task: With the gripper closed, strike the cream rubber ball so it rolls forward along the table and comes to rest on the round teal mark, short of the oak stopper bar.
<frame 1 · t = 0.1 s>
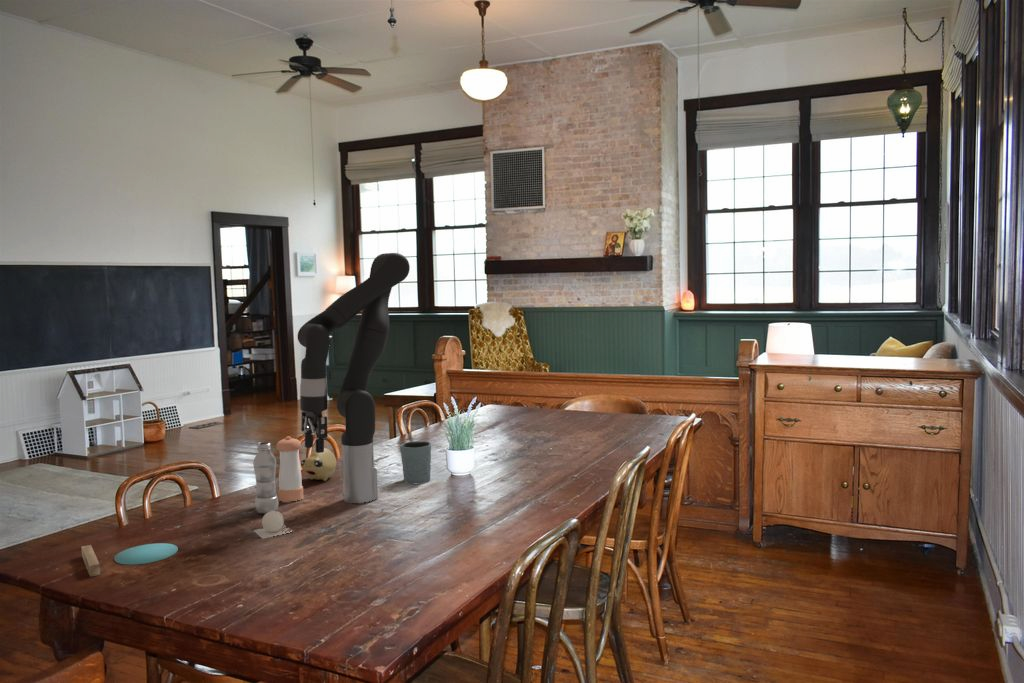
hand: (314, 449, 219), 17 cm above the table, tool pointing down, fingers open, 8 cm apart
pepper shaker: (291, 499, 231), on the table
dark grey pot: (416, 480, 250), on the table
yellow plush toy: (319, 480, 253), on the table
stopper bar: (90, 565, 179), on the table
ball: (272, 521, 201), on the table
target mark: (146, 553, 186), on the table
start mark: (273, 531, 201), on the table
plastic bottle: (267, 513, 218), on the table
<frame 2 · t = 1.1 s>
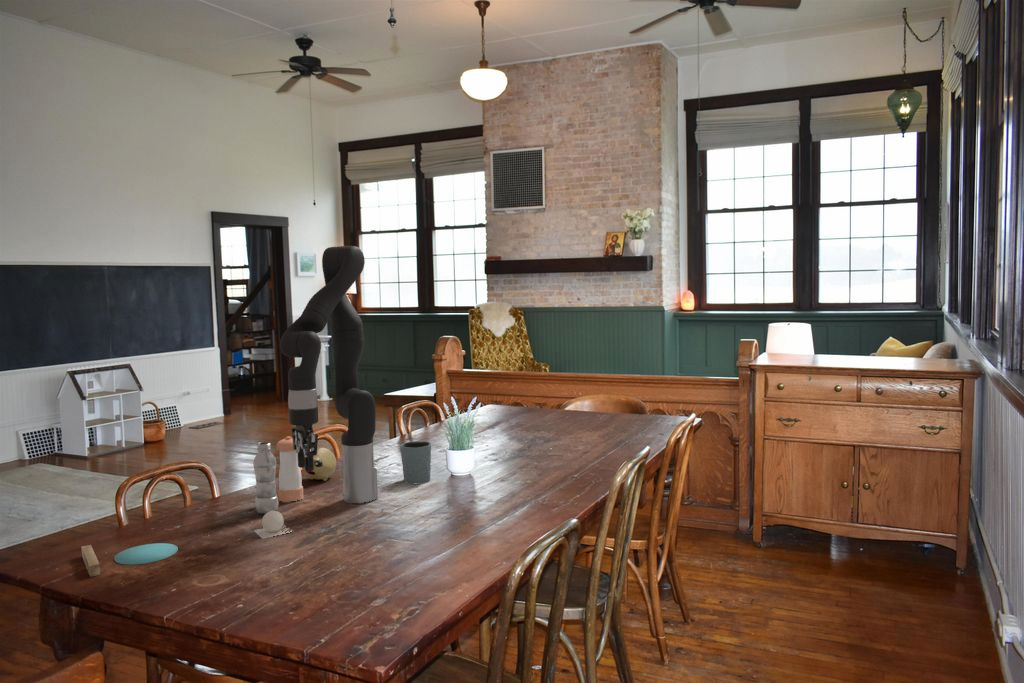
hand: (305, 468, 205), 15 cm above the table, tool pointing down, fingers open, 4 cm apart
nothing on the table moved.
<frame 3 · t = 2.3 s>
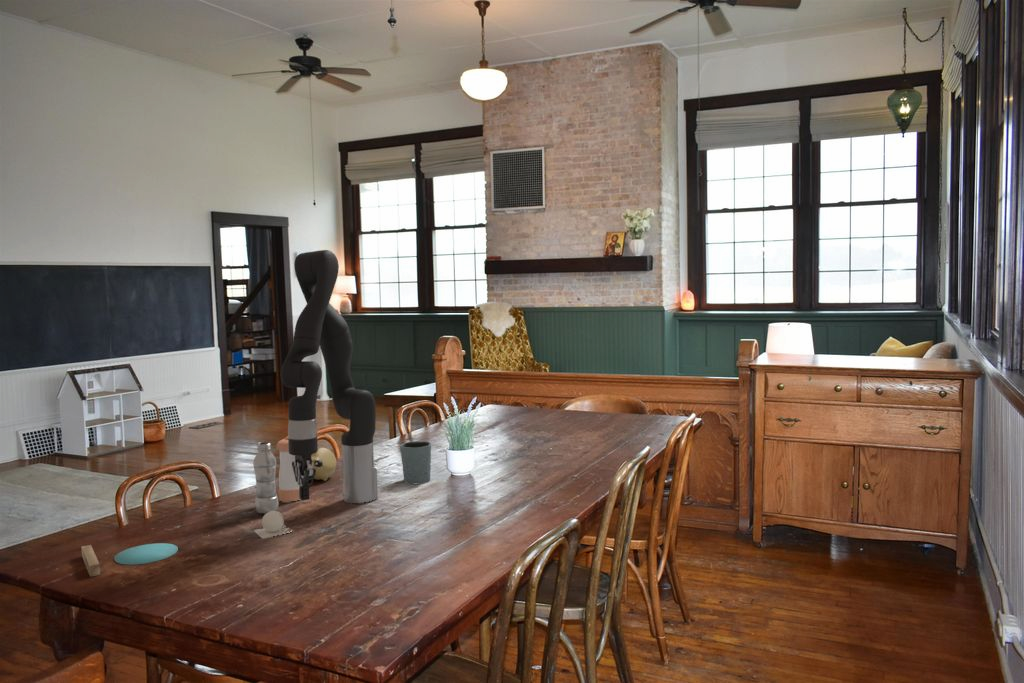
hand: (304, 499, 206), 7 cm above the table, tool pointing down, fingers closed
nothing on the table moved.
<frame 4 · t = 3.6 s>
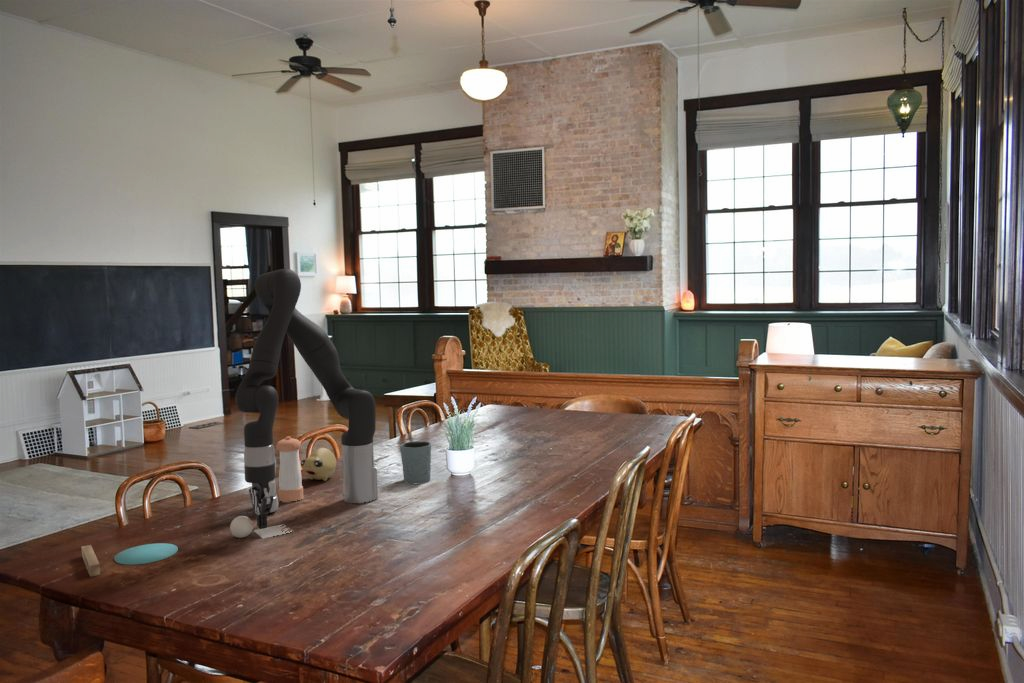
hand: (262, 527, 199), 2 cm above the table, tool pointing down, fingers closed
ball: (241, 526, 197), on the table
everything else where it was.
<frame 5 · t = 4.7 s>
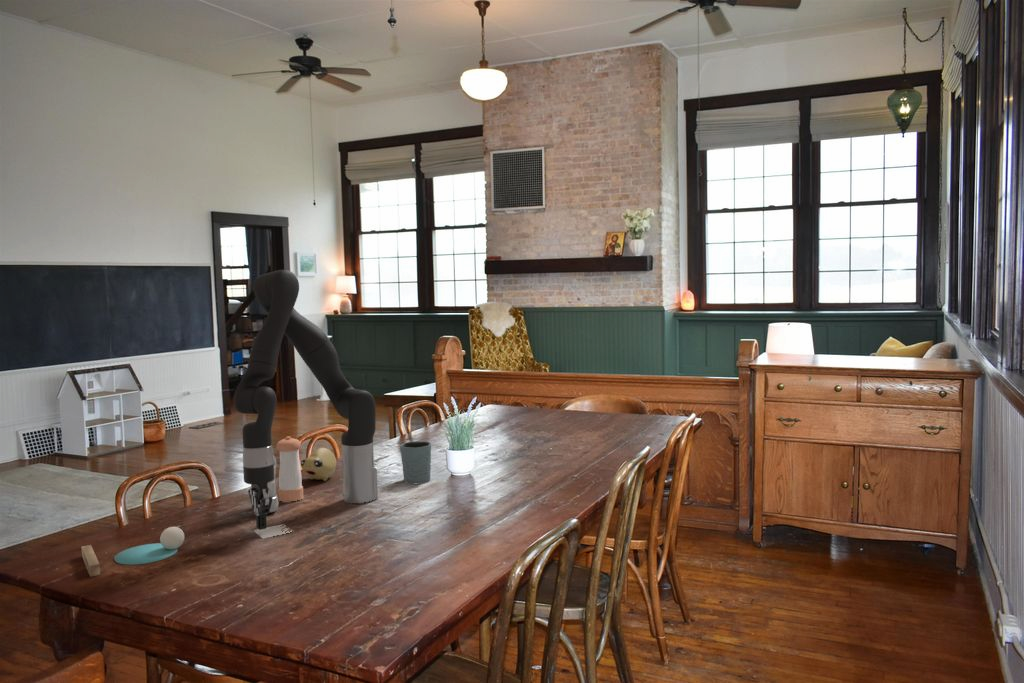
hand: (261, 528, 199), 2 cm above the table, tool pointing down, fingers closed
ball: (172, 538, 189), on the table
everything else where it was.
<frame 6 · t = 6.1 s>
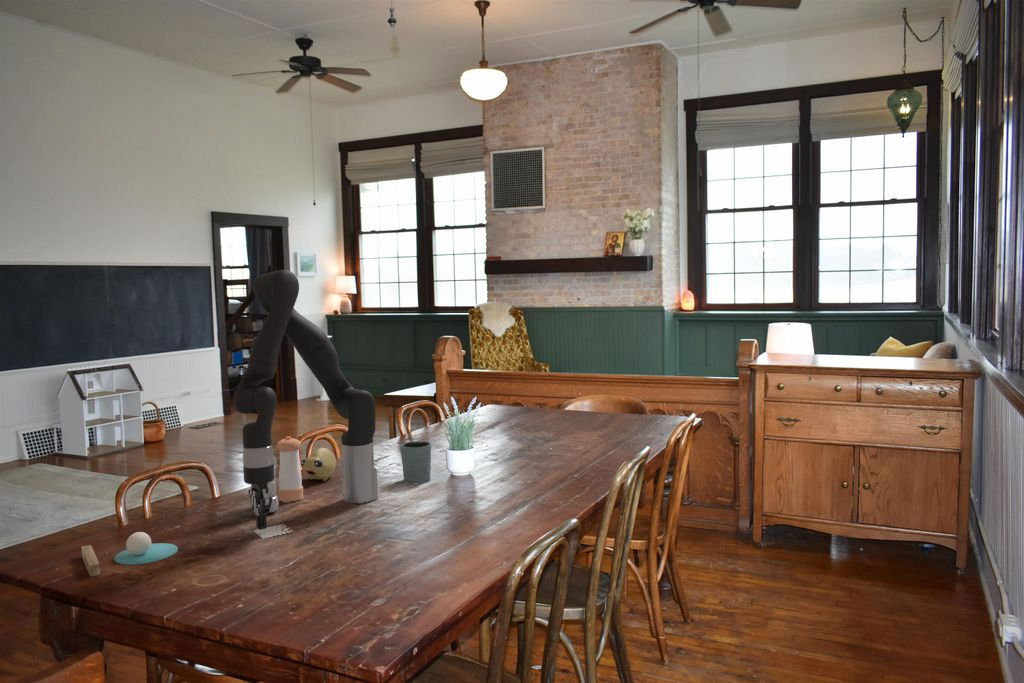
hand: (261, 528, 199), 2 cm above the table, tool pointing down, fingers closed
ball: (138, 543, 186), on the table
everything else where it was.
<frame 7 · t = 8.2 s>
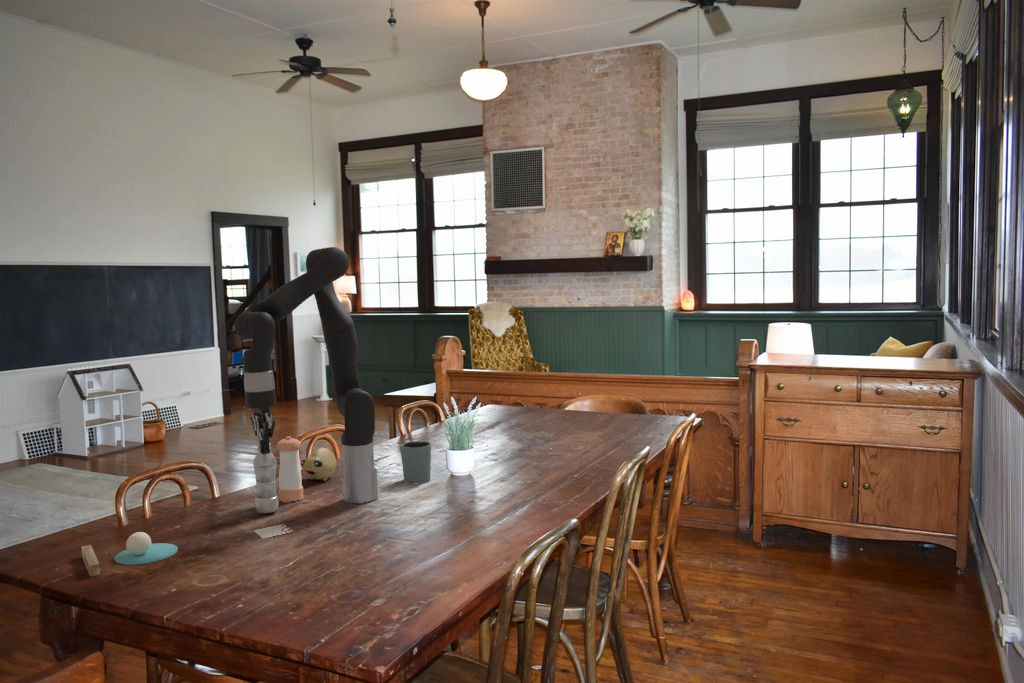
hand: (265, 453, 201), 21 cm above the table, tool pointing down, fingers closed
nothing on the table moved.
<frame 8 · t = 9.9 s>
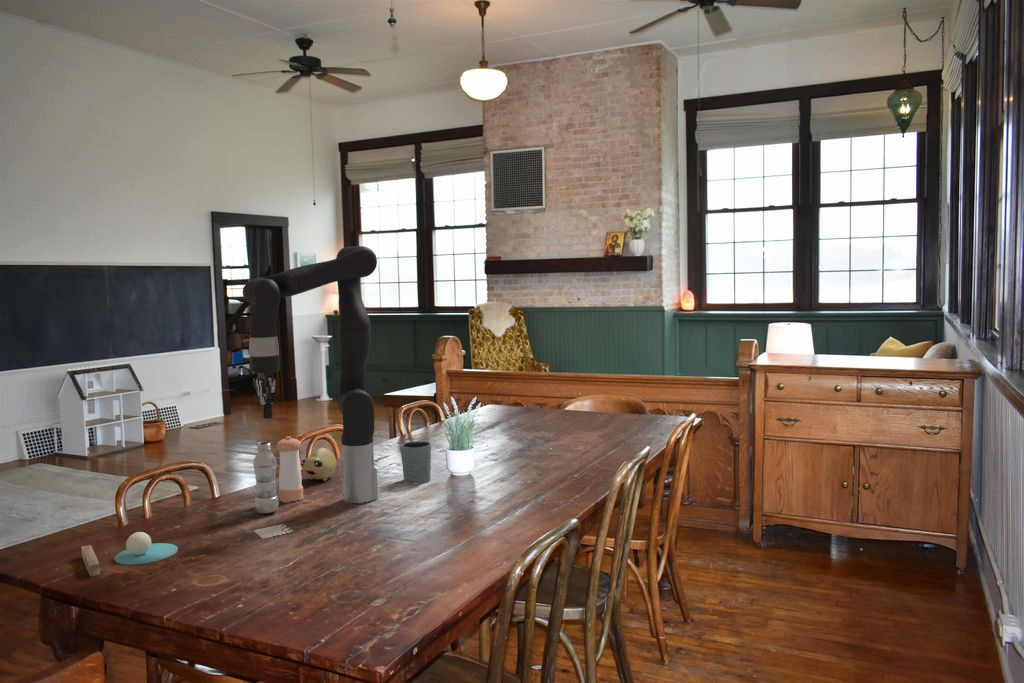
hand: (267, 418, 205), 29 cm above the table, tool pointing down, fingers closed
nothing on the table moved.
at the end: ball 1.6 cm from the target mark (horizontally); ball at rest at the end (0.0 cm/s); ball moved 31.7 cm from its start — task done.
